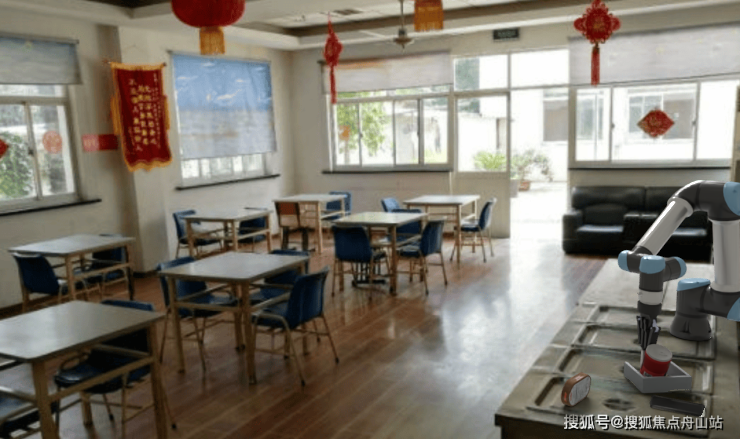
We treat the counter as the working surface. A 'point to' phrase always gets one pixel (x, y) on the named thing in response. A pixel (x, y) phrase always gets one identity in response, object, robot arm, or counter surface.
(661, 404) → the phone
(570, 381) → the tin
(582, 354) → the counter surface
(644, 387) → the box
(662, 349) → the canned food
